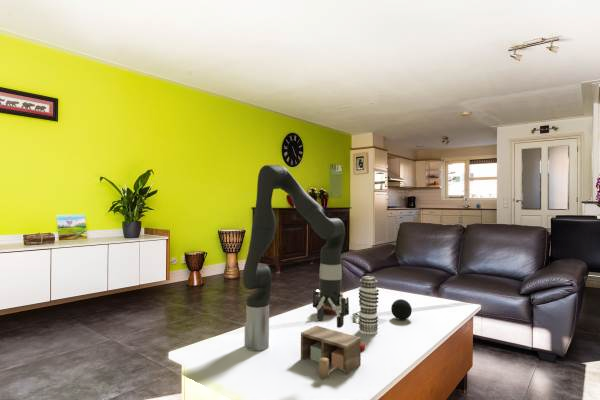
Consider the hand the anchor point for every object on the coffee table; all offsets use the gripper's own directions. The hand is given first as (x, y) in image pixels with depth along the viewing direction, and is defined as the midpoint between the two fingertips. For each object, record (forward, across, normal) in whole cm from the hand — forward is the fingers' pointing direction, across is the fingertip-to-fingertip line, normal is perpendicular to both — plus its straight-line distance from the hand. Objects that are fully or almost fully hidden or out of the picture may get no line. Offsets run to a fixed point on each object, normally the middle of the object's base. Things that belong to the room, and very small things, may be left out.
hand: (330, 324), depth 123 cm
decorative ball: (+18, -14, +72) cm, 76 cm away
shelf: (+18, -7, +8) cm, 21 cm away
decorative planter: (+18, -46, +52) cm, 72 cm away
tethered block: (+18, -2, +4) cm, 18 cm away
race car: (+18, -10, +23) cm, 31 cm away
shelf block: (+18, -12, +8) cm, 23 cm away
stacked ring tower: (+18, -16, +46) cm, 52 cm away
